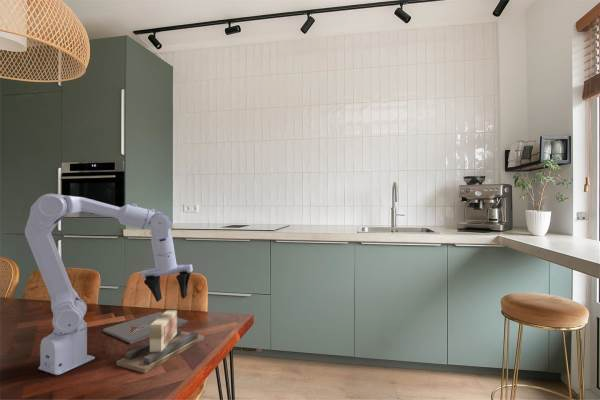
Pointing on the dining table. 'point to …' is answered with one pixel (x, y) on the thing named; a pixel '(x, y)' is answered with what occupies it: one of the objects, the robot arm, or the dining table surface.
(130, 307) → the dining table surface
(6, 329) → the dining table surface
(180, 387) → the dining table surface
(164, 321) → the cream rectangular block
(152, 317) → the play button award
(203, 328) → the dining table surface
